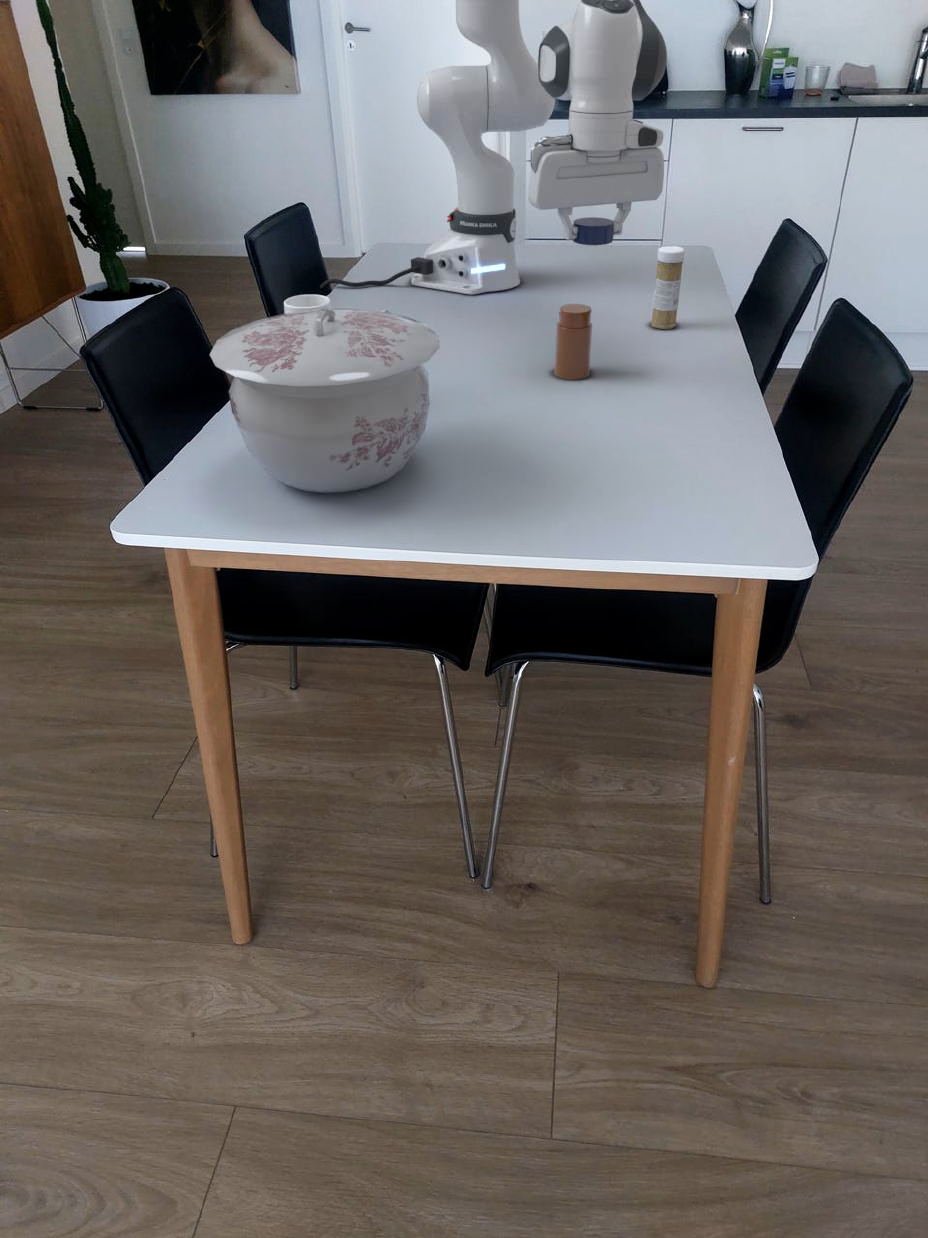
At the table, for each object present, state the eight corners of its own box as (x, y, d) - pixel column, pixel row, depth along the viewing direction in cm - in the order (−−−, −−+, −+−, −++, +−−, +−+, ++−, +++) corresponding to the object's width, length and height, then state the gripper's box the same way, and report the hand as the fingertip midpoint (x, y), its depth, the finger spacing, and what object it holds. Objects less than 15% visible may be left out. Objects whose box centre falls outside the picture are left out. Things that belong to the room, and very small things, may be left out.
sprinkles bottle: (661, 320, 174) (670, 243, 166) (681, 326, 171) (690, 248, 163) (645, 325, 172) (652, 247, 164) (664, 331, 169) (673, 252, 161)
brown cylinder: (550, 377, 150) (553, 311, 144) (559, 366, 154) (562, 301, 149) (584, 381, 149) (588, 314, 143) (592, 369, 153) (596, 304, 147)
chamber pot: (269, 540, 108) (243, 362, 96) (206, 452, 128) (178, 296, 117) (485, 487, 118) (485, 321, 107) (395, 413, 139) (387, 266, 127)
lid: (620, 239, 142) (622, 221, 140) (596, 247, 138) (597, 228, 137) (588, 233, 145) (589, 215, 144) (564, 240, 141) (565, 221, 140)
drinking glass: (347, 396, 145) (339, 296, 136) (327, 412, 139) (317, 309, 131) (307, 391, 146) (296, 292, 138) (286, 407, 141) (274, 305, 133)
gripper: (540, 140, 128) (536, 247, 136) (674, 131, 134) (663, 235, 141) (522, 134, 133) (520, 237, 141) (652, 126, 139) (643, 226, 146)
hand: (593, 236), depth 141 cm, fingers closed on lid, 6 cm apart
